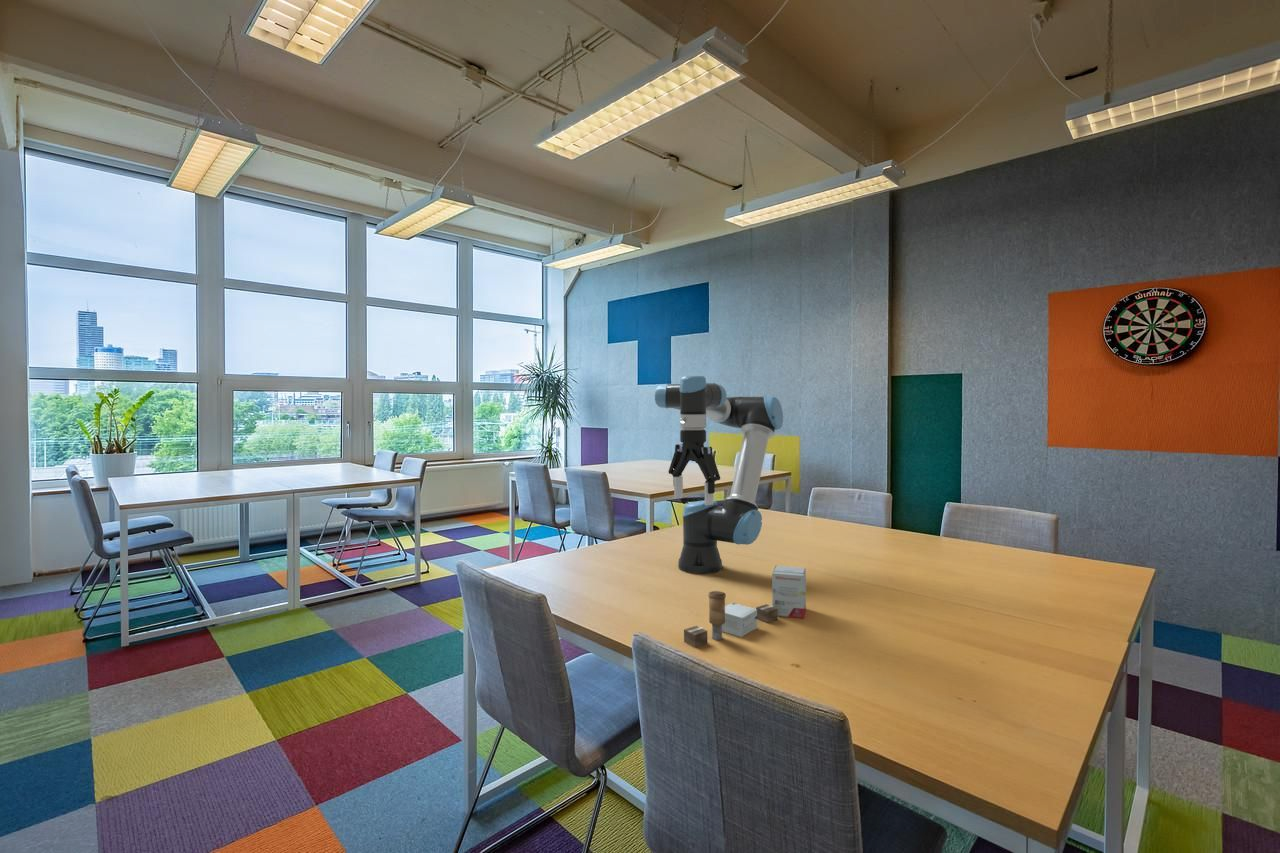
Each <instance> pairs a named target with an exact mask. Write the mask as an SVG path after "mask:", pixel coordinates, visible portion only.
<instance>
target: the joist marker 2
mask: <svg viewBox="0 0 1280 853" xmlns="http://www.w3.org/2000/svg"><path fill="white" fill-rule="evenodd" d="M755 609H757V620H759V621H761V622H764V623H766V624H768V623H771V622H772V623H773V622H775V621H777V620H778V619H779V618H778V617H779V616H778V608H775V607H773V606H772V605H771V604H764V605H763V604H762V605H760V606H757V607H755Z"/></svg>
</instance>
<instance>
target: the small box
mask: <svg viewBox="0 0 1280 853" xmlns="http://www.w3.org/2000/svg"><path fill="white" fill-rule="evenodd" d="M757 628H758V619H757V609H756V608H754V607H751V606H750V607H749V606H746V605H743V604H738V603H735V602H731V603H729V604H727V605H725V623H724V624H722V633H723V632H724V633H726V634H730V635H733V636H737V637H740V638H742V637H744V636H745V635H747V634H749V633H751V632H753V631H754V630H756V629H757Z"/></svg>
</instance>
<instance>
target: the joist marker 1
mask: <svg viewBox="0 0 1280 853" xmlns="http://www.w3.org/2000/svg"><path fill="white" fill-rule="evenodd" d="M683 643H686V644H687V645H689V646H691V647H693V648H698V647H700V646H703V645H706V644H708V630H706V629H704V628H703V627H702V626H698V625H695V626H692V627H687V628H685V629H683Z"/></svg>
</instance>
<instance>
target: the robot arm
mask: <svg viewBox="0 0 1280 853" xmlns="http://www.w3.org/2000/svg"><path fill="white" fill-rule="evenodd" d="M654 402H655V404H656V406H657V407H659V408H661V409H675V410H680V414H679V415H680V418H679V422H680V423H679V424H680V425H679V426H680V427H679V428H681V429H680V432H679V439H680V440H679V441H680V443H677V444H675V446H674V453H673V456H672V459H671V463H670V466H669V467H668V468H669V469H668V474H669V475H671V476H672V477H673V478H672V479H673V485H672V486H673V488H674V489H673V490H674V491H673V492H674V495H673V499H675V500H676V499H678V500H679V499H683V498H684V487H683V486H684V483H683V482H684V480H683V479H684V477H683V472H684V471H685V469H686V467H687V466H688V464H689V462H690V461H691V462H695V463H696V464H697V465H698V466H699V469H700V471H701V473H702V474H703V476H704V479H705V481H704V500H698V501H691V502H688V503H686V504H685V505H684V506H683V512H682V523H683V524H682V527H683V528H682V529H683V531H682V532H683V534H682V538H683V544H682V549H681V552H680V556H679V558H678V564H677V567H678V569H679V570H681V571H682V572H685V573H691V574H713V573H718V572H720V571H721V570H722V569H723V561H722V558H721V555H720V552H719V549H718V542H725V543H729V544H730V543H731V544H735V545H751V544H753V543H754V542H755V541H756V540H757V539H758V537H759V536H760V532H761V530H762V524H763V521H762V520H763V517H762V514H761V512H760V511H759V505H757V503H756V497H757V494H758V488H759V484H760V480H761V475H762V469H763V466H764V461H765V457H766V456H765V455H766V452H767V447H768V442H769V440H770V439H771V438H773V437H774V434H775V430H776V431H778V430H781V429H782V427H783V425H784V424H783V422H784V414H783V407H782V404H781V402H780V400H779V398H778V397H776V396H766V395H764V396H731V397H730V396H728V397H727V391H726V389H725V387H724V386H723V385H721V384H718V383H715V382H711V383H707V378H706V377H705V376H704V375H684V376H682V377H681V378H680V383H679V384H676V383H675V384H674V383H666V384H665V383H664V384H659V385H658V386H657V387H656V388H655V391H654ZM707 418H708V419H709V420H710V421H712V422H713V423H716V424H720V425H724V426H727V427H730V428H734V429H740V430H741V432H742V433H743V438H742V440H741V442H742V443H741V446H740V451H739V454H738V460H737V464H736V467H735V471H734V476H733V480H732V481H733V482H732V485H731V490H730V495H729V496H728V497H726V498H725V499H724V500H723V505H722V506H721V505H718V502H717V500H715V499H714V494H715V490H716V489H715V488H716V487H715V483H716V482H717V481H720V480H721V476H720V475H721V474H720V473H719V469H718V467H717V464H716V461H715V457H714V455H713V454H714V453H713V452H714V451H713V447H712V446H704V445H705V443H706V441H707V430H706V427H707Z"/></svg>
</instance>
